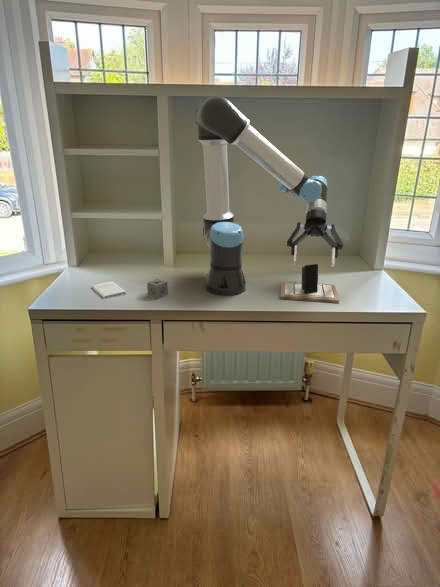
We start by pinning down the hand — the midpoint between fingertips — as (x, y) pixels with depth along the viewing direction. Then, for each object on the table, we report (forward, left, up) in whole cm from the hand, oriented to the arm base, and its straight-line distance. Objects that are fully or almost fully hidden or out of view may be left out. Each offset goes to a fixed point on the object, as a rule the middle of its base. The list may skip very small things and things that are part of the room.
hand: (313, 264), depth 150 cm
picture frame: (+1, -3, -10) cm, 11 cm away
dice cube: (-28, -49, -10) cm, 57 cm away
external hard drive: (-42, -61, -11) cm, 75 cm away
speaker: (+1, -3, -9) cm, 10 cm away
